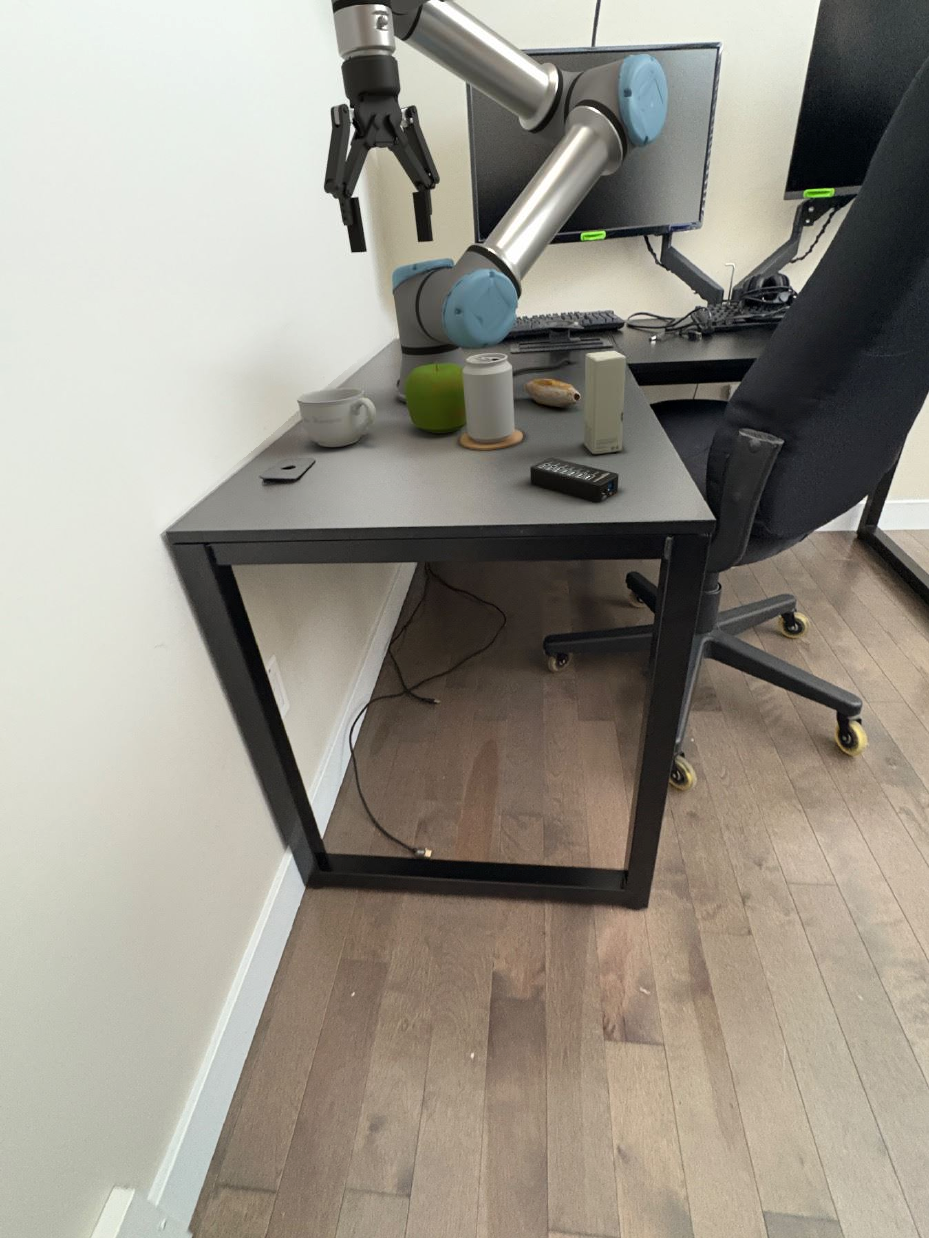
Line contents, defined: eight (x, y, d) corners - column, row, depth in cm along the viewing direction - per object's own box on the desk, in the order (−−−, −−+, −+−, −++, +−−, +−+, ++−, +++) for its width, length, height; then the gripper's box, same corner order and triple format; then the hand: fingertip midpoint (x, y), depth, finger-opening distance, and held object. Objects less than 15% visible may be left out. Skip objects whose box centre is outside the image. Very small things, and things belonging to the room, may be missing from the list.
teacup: (295, 446, 101) (283, 397, 97) (346, 427, 107) (337, 381, 103) (345, 461, 93) (335, 408, 88) (397, 440, 99) (390, 390, 95)
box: (622, 452, 86) (628, 356, 79) (592, 456, 86) (595, 360, 78) (610, 440, 90) (615, 349, 83) (582, 444, 90) (584, 352, 83)
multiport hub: (550, 473, 82) (550, 456, 81) (619, 491, 75) (620, 473, 74) (529, 483, 80) (528, 467, 78) (598, 503, 73) (599, 485, 71)
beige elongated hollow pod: (540, 393, 115) (539, 369, 112) (587, 409, 104) (588, 383, 102) (517, 399, 113) (516, 375, 110) (563, 416, 102) (563, 389, 100)
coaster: (488, 425, 101) (488, 423, 101) (535, 435, 95) (535, 432, 95) (447, 443, 96) (447, 440, 96) (494, 454, 90) (494, 451, 90)
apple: (397, 435, 102) (387, 367, 95) (436, 416, 109) (428, 352, 102) (450, 442, 96) (443, 371, 90) (487, 422, 103) (483, 355, 97)
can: (511, 444, 92) (507, 361, 85) (463, 445, 93) (456, 363, 86) (517, 428, 97) (515, 349, 91) (472, 429, 99) (466, 352, 92)
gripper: (307, 44, 70) (344, 256, 82) (453, 58, 84) (466, 236, 96) (272, 59, 74) (312, 257, 86) (417, 69, 88) (434, 238, 100)
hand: (393, 247), depth 91 cm, fingers open, 13 cm apart
